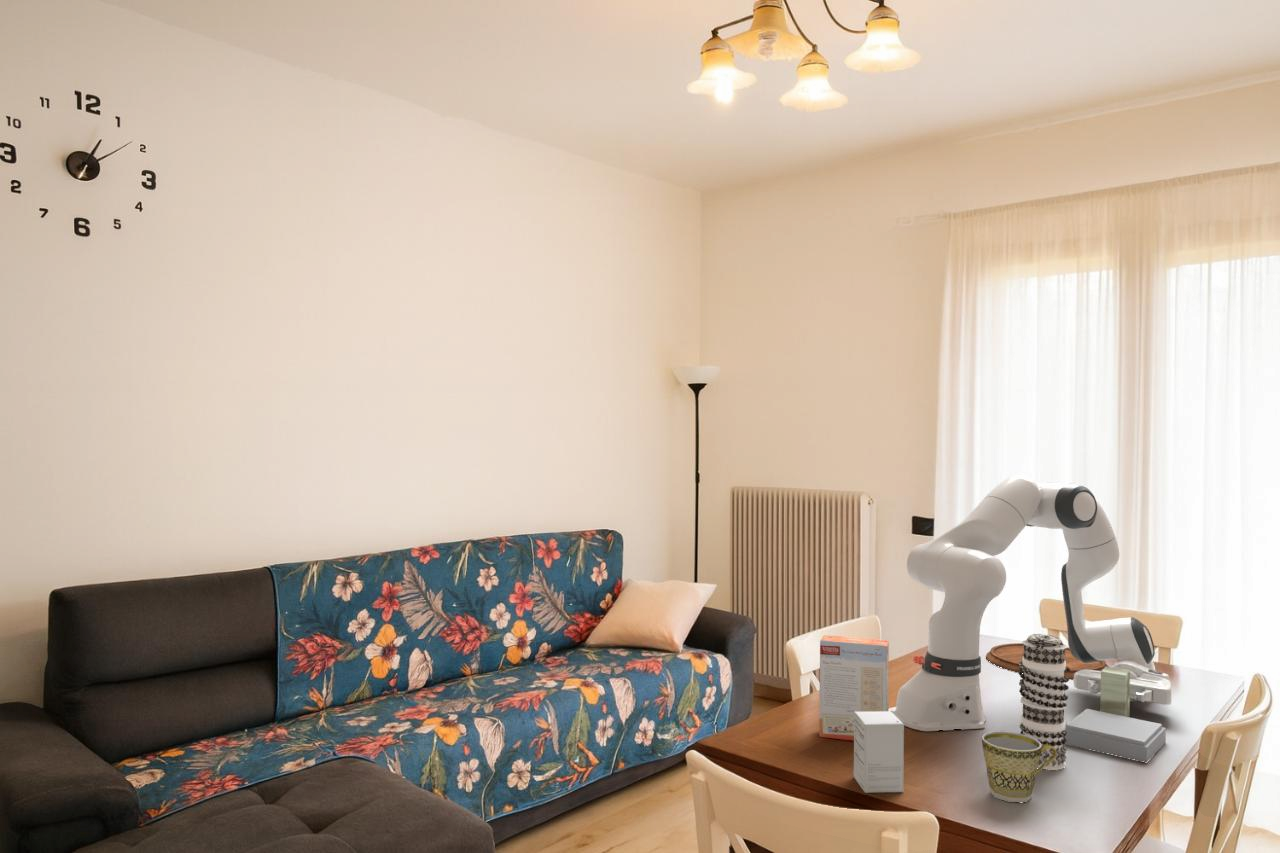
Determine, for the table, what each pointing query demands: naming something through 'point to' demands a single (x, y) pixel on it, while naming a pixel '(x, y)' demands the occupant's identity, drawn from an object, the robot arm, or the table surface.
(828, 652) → the cracker box
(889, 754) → the supplement box
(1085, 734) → the plinth
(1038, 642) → the decorative candle
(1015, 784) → the ceramic cup
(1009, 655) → the cutting board
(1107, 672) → the tall block
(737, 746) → the table surface
